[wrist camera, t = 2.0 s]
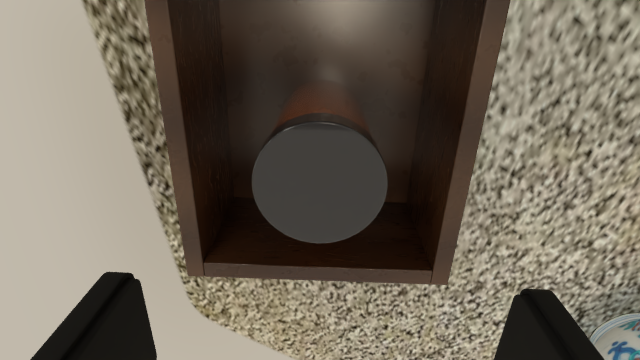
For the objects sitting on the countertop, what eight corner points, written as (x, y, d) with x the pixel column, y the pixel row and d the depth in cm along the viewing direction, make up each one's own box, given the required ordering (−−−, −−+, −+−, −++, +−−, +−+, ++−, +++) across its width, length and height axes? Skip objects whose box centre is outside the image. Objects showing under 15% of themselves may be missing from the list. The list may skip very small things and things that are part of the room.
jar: (261, 104, 25) (224, 161, 16) (341, 59, 24) (350, 94, 15) (305, 176, 28) (294, 261, 19) (381, 139, 26) (409, 212, 17)
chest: (414, 207, 30) (447, 285, 22) (225, 201, 30) (187, 276, 22) (456, -61, 22) (533, -97, 14) (200, -68, 22) (126, -109, 14)
